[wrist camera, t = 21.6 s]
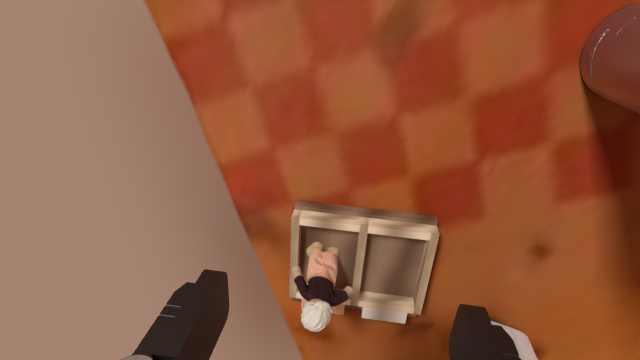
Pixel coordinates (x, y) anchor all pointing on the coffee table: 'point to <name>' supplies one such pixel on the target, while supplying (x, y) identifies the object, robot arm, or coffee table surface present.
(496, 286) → the coffee table surface
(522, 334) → the photo printer
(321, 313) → the grandmother figurine
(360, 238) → the wooden divided tray
